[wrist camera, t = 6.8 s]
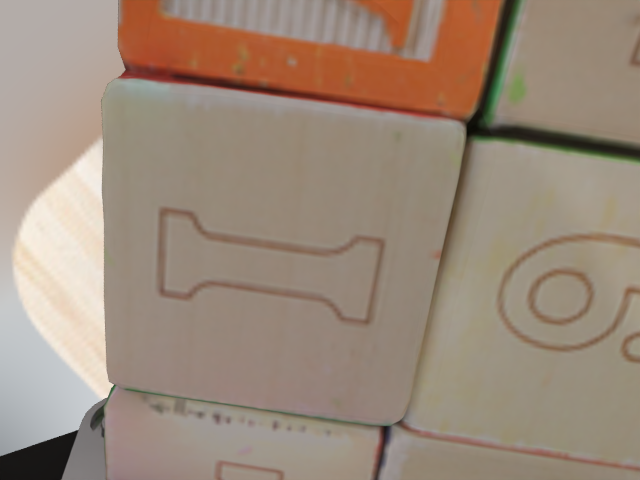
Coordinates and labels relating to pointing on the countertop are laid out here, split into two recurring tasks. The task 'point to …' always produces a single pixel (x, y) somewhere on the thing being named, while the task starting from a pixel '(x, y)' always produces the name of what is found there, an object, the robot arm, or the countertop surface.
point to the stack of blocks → (373, 240)
